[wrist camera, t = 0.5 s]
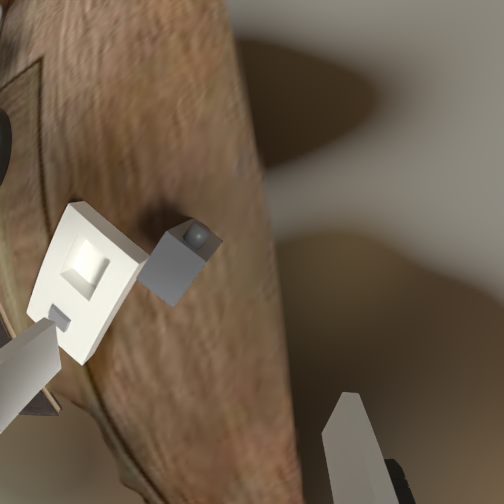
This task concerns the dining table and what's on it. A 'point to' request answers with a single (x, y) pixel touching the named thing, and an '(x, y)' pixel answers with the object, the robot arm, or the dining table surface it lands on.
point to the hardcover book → (44, 399)
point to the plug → (178, 260)
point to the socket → (84, 279)
